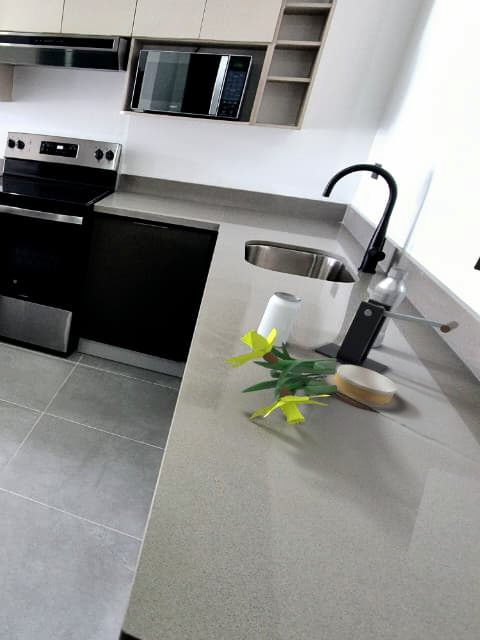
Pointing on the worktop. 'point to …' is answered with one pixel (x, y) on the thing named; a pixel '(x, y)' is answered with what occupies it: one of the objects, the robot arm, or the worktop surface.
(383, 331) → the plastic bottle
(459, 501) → the worktop surface
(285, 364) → the daffodil flowers
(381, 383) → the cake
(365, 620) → the worktop surface
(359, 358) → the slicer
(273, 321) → the can
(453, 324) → the lever
